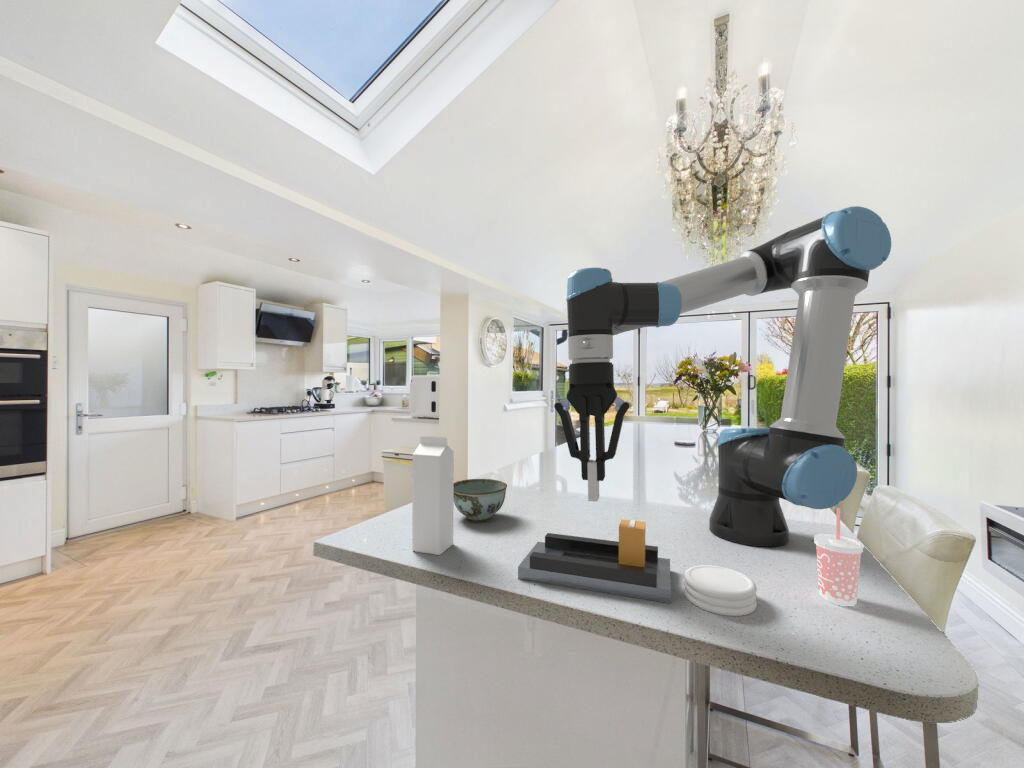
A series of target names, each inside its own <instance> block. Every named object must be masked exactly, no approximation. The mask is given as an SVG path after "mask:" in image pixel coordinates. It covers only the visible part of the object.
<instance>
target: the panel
mask: <svg viewBox="0 0 1024 768" xmlns="http://www.w3.org/2000/svg"><path fill="white" fill-rule="evenodd" d="M517 579H519V580H524V581H525V580H526V581H531V582H537V583H542V584H549V585H554V586H561V587H568V588H572V589H573V588H574V589H579V590H587V591H592V592H597V593H603V594H611V595H615V596H616V595H617V596H622V597H629V598H635V599H641V600H647V601H654V602H659V603H664V602H665V604H671V598H672V597H671V589H672V588H671V559H670V558H667V557H666V558H664V557H659V546H656V545H655V546H654V545H650V544H649V545H647V544H645V567H638V566H631V565H624V564H619V541H615V540H606V539H599V538H594V537H593V538H592V537H591V538H590V537H583V536H575V535H568V534H561V533H559V534H558V533H550V532H547V533H546V535H544V541H537V542H536V543H535V545H534V546H533V547H532V548H531V550H530V551H528V554H527V555H526V556H525V557H524V558H523V560H522V561H521V562H520V564H519V565H518V566H517Z"/></svg>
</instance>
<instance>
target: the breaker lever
mask: <svg viewBox="0 0 1024 768" xmlns="http://www.w3.org/2000/svg"><path fill="white" fill-rule="evenodd" d="M618 542H619V564H624V565H631V566H638V567H645V545H646V521H641V520H635V519H621V518H620V522H619V524H618Z"/></svg>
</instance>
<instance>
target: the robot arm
mask: <svg viewBox="0 0 1024 768" xmlns="http://www.w3.org/2000/svg"><path fill="white" fill-rule="evenodd" d="M891 249H892V237H891V233H890V230H889V228H888V226H887V224H886V222H884V221H883V219H882V218H881V216H880V215H879V214H877V212H875V211H873V210H872V209H869V208H867V207H863V206H860V205H859V206H857V205H856V206H854V205H853V206H848V207H845V208H841V209H839V210H836V211H830V212H829V213H827V214H825V216H822V217H821V218H818V219H815V220H813V221H809V222H808V223H806V224H804V225H801V226H798V227H796V228H794V229H790V230H788V231H786V232H784V233H782V234H780V235H778V236H776V237H774V238H772V239H770V240H768V241H767V242H765V243H762V244H761V245H759V246H756V247H753V248H751V249H749V250H745V251H742V252H740V253H739V254H737V256H736V257H735V259H732V260H729V261H726V262H722V263H719V264H716V265H712V266H709V267H705V268H703V269H700V270H699V269H698V270H696V271H693V272H690V273H686V274H684V275H679V276H675V277H673V278H670V279H669V278H668V279H667V280H663V281H657V282H617V281H613V278H612V272H611V271H610V269H608V268H602V267H584V268H580V269H577V270H574V271H572V272H571V273H570V274H569V276H568V277H567V283H566V284H567V286H566V299H565V300H566V305H567V306H566V309H567V329H568V330H567V331H568V332H567V333H568V334H567V343H568V344H567V346H568V348H567V349H568V351H567V353H568V360H569V361H571V363H570V364H569V365H568V384H569V385H568V390H567V392H566V397H565V398H564V399H562V400H560V401H558V402H556V403H554V404H553V405H554V409H555V411H556V412H557V413H558V415H559V417H560V421H561V424H562V429H563V432H564V436H565V439H566V443H567V447H568V451H569V455H570V457H571V458H575V459H576V460H578V461H580V466H581V470H580V471H581V479H582V480H583V481H587V495H588V496H587V498H588V499H587V502H598V501H599V500H600V482H602V481H603V482H604V481H605V477H606V462H607V461H608V460H612V459H614V457H615V455H616V454H617V449H618V444H619V441H620V436H621V431H622V427H623V423H624V417H625V415H626V413H627V412H628V411H629V409H630V407H631V403H630V402H629V401H625V400H624V399H622V398H620V397H619V396H618V393H617V391H616V388H615V382H614V377H615V376H614V374H615V373H614V364H613V362H610V361H611V360H612V359H613V358H614V336H617V335H619V334H623V333H626V332H630V331H635V330H639V329H642V328H648V327H652V328H653V327H655V328H659V327H670V326H672V325H674V324H675V323H676V322H677V321H678V319H679V318H680V316H681V315H682V314H684V313H689V312H691V311H694V310H697V309H701V308H703V307H707V306H709V305H713V304H717V303H719V302H723V301H726V300H729V299H732V298H735V297H738V296H741V295H745V296H748V297H749V296H750V297H752V296H753V297H754V296H757V295H758V296H759V295H760V294H764V293H768V292H774V291H775V292H776V291H780V290H786V289H787V290H788V289H792V290H793V291H794V292H795V293H796V294H798V300H797V307H796V314H795V320H794V327H793V333H792V339H791V340H792V341H791V347H790V352H789V353H790V354H789V360H788V368H787V373H786V379H785V385H784V393H783V399H782V404H781V405H782V406H781V412H780V413H781V415H780V418H778V420H776V421H774V422H773V423H772V424H770V425H769V427H744V428H739V427H738V428H736V427H735V428H724V429H722V430H720V432H719V436H718V444H717V448H718V471H717V472H718V483H717V484H718V486H717V487H718V489H717V490H718V491H717V492H718V494H717V497H716V501H715V503H714V506H713V508H712V511H711V513H710V517H709V519H708V520H709V526H708V527H709V531H710V532H711V533H712V534H713V535H715V536H717V537H719V538H722V539H723V540H727V541H729V542H732V543H733V542H734V543H738V544H743V545H747V546H748V545H749V546H755V547H779V546H783V544H784V545H786V544H788V543H787V542H789V541H790V533H789V532H790V530H789V529H790V528H789V526H788V524H787V521H786V518H785V514H784V512H783V509H782V506H781V503H780V499H782V500H786V501H787V502H789V503H791V504H793V505H795V506H801V507H805V508H809V509H811V510H813V509H814V510H825V509H827V510H828V509H830V508H834V507H837V505H839V504H840V502H843V501H845V499H847V498H848V496H849V495H850V494H851V493H852V491H853V489H854V488H855V485H856V482H857V479H858V478H857V477H858V467H857V463H856V462H857V461H854V456H853V455H852V454H851V452H849V451H848V450H846V448H844V447H845V439H846V438H845V435H844V434H843V433H842V432H841V431H840V430H839V429H838V427H837V421H838V415H839V407H840V401H841V393H842V387H843V380H844V373H845V366H846V361H847V360H846V359H847V353H848V347H849V341H850V333H851V326H852V322H853V321H852V320H853V313H854V306H855V300H856V296H857V295H859V294H860V293H861V292H862V291H864V290H865V289H867V288H868V285H869V279H870V272H871V271H872V270H875V269H877V268H878V267H880V266H881V265H882V264H883V263H884V262H885V261H887V259H888V258H889V256H890V253H891ZM613 404H615V405H614V410H615V412H616V414H615V416H614V422H613V426H612V431H611V435H610V438H609V442H608V443H609V444H608V448H607V450H606V443H605V442H606V441H605V438H606V437H605V434H606V433H605V415H606V414H607V413H608V411H609V409H611V407H612V406H613ZM570 405H571V406H572V408H573V409H574V411H575V412H576V413H577V414H578V416H579V417H578V421H579V440H580V442H579V443H580V445H579V444H578V440H577V436H576V432H575V429H574V425H573V420H572V418H571V414H570V409H571V406H570ZM590 416H593V417H594V425H595V426H594V432H595V433H594V434H595V459H591V457H592V456H591V443H590V442H591V437H590V436H591V435H590V434H591V433H590V420H591V417H590ZM579 446H580V447H579Z"/></svg>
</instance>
